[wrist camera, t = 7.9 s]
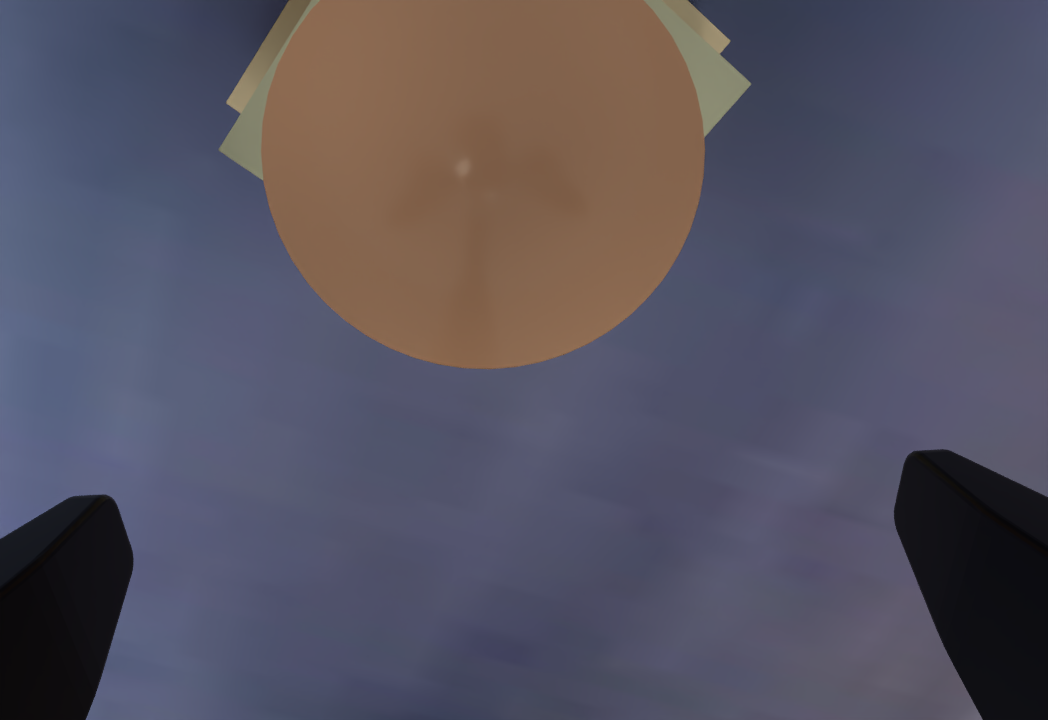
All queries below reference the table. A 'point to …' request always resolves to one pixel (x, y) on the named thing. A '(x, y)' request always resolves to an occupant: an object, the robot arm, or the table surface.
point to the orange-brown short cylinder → (483, 169)
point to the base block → (299, 3)
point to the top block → (705, 64)
